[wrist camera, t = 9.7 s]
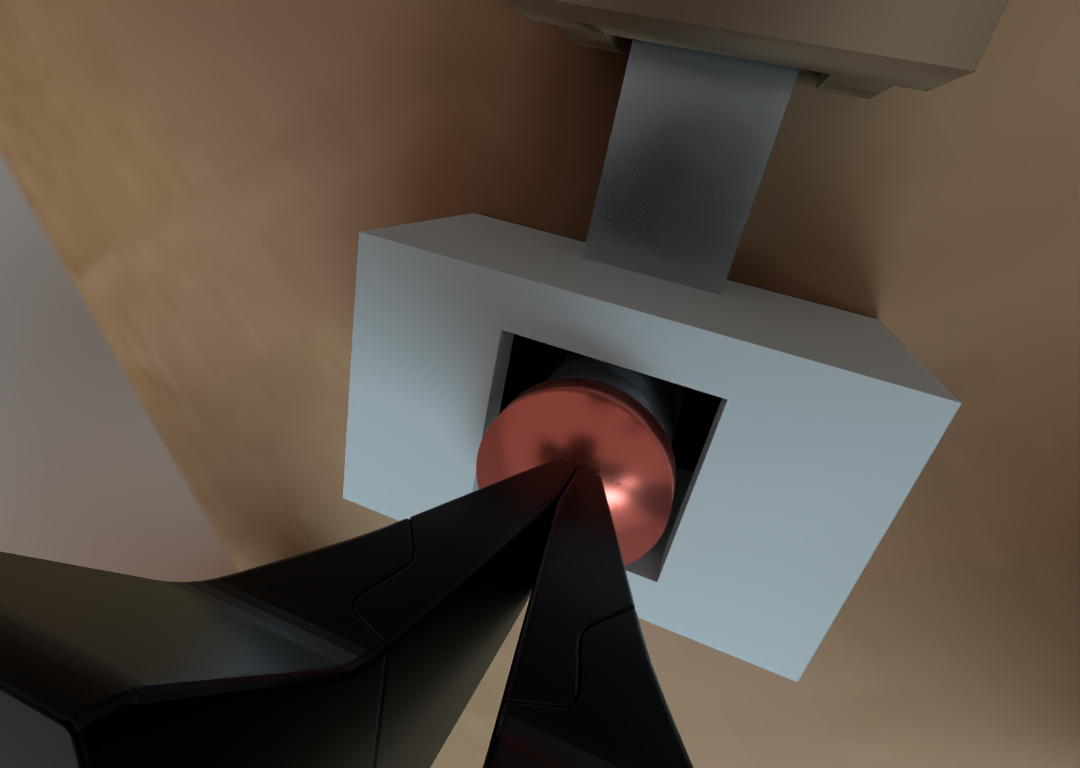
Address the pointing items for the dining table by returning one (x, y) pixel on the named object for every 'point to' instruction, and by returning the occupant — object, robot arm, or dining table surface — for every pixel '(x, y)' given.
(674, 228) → the rail
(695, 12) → the carriage
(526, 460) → the plunger
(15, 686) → the robot arm
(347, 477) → the button housing
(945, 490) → the dining table surface
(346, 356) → the dining table surface
